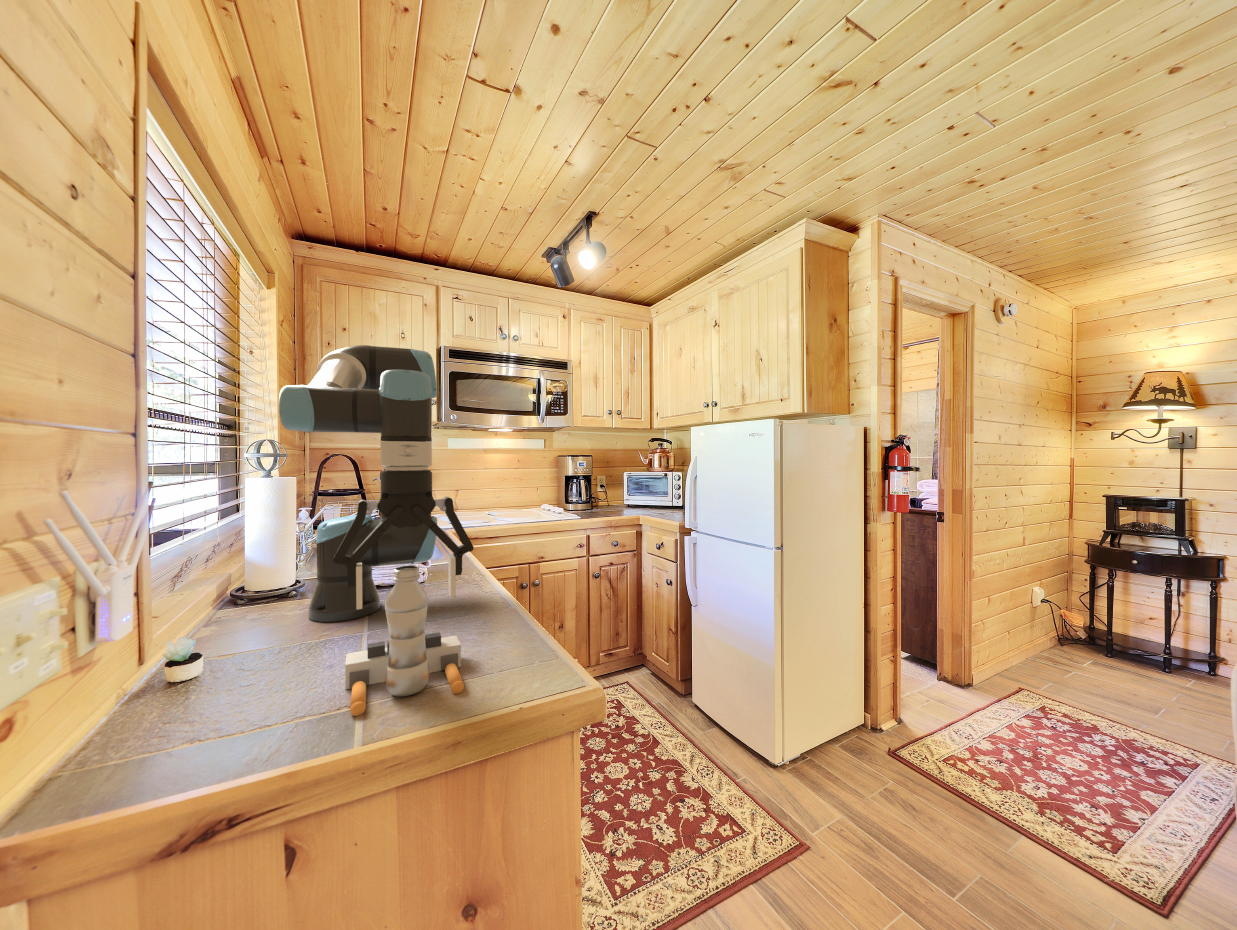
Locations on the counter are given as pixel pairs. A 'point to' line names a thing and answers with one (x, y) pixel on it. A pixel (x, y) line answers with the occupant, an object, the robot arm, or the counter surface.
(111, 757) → the counter surface
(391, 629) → the plastic bottle
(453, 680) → the cord
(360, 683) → the cord
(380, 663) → the breaker strip
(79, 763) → the counter surface
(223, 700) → the counter surface
